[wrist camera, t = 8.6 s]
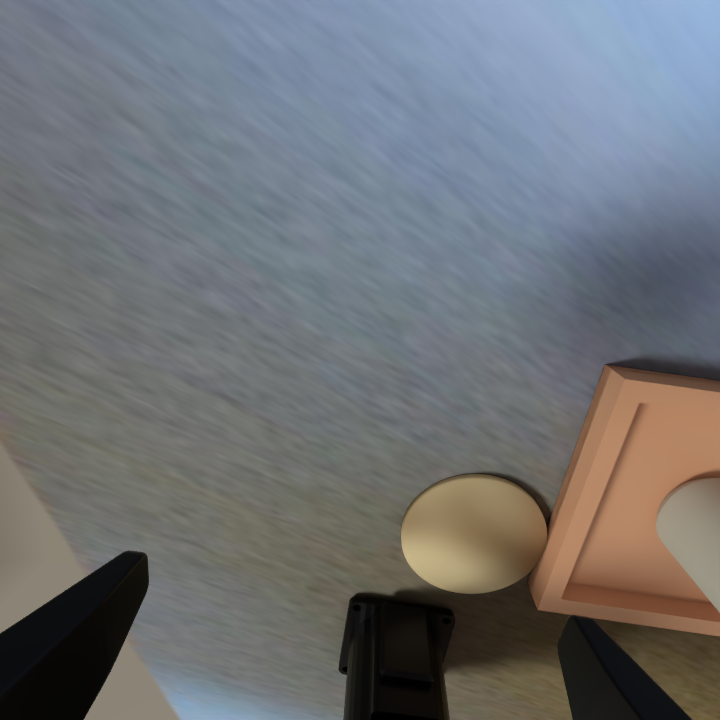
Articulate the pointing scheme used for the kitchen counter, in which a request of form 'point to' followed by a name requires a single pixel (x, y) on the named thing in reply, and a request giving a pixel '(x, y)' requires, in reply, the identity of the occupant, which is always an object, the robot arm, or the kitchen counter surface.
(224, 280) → the kitchen counter surface
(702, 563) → the beverage can
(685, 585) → the tray
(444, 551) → the cork coaster
